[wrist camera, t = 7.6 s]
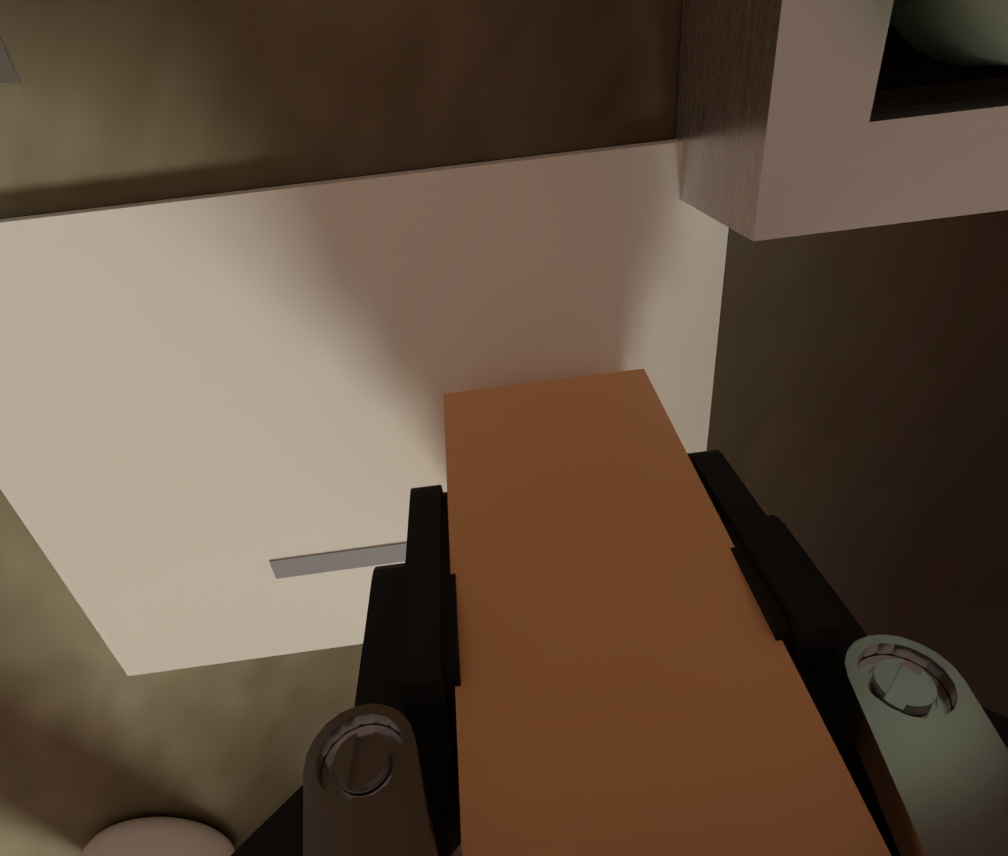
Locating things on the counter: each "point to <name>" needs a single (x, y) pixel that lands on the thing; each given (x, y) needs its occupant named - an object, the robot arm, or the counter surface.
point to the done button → (955, 29)
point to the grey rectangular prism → (6, 68)
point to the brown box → (620, 646)
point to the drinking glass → (159, 839)
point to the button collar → (826, 123)
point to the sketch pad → (316, 374)
